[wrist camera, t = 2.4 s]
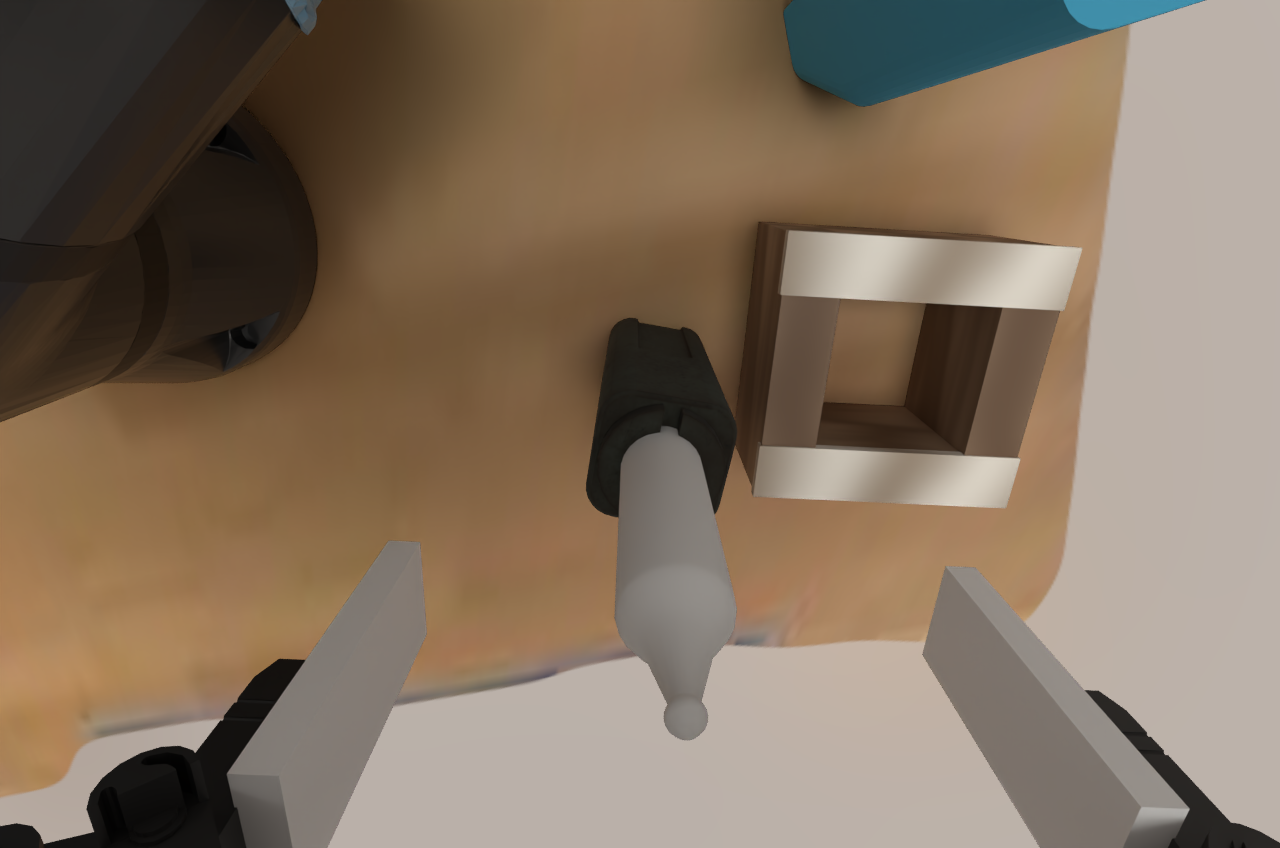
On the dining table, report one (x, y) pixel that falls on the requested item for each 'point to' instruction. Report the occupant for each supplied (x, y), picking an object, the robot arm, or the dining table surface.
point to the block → (937, 38)
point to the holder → (942, 371)
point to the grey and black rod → (666, 507)
